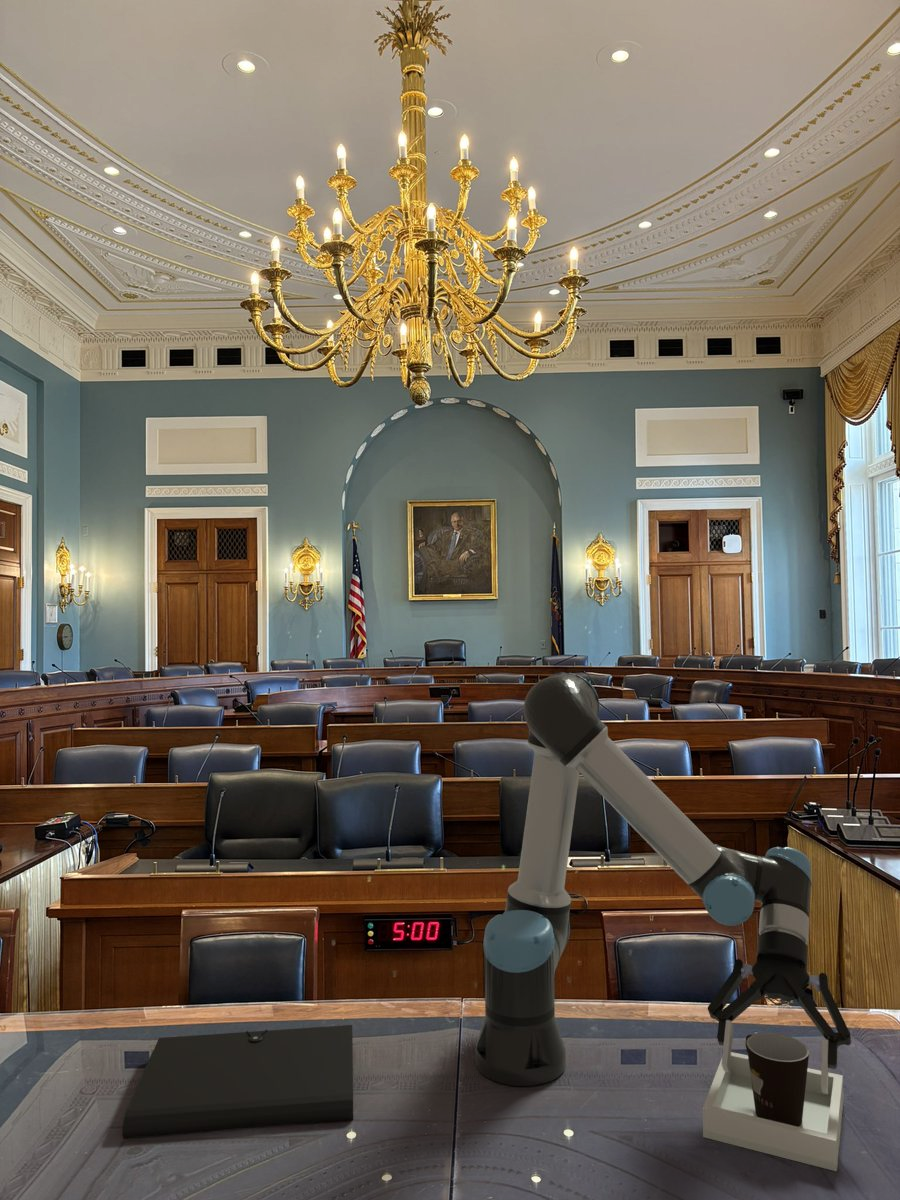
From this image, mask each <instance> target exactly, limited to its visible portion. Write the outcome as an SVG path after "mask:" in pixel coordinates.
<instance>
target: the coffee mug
mask: <svg viewBox="0 0 900 1200" xmlns="http://www.w3.org/2000/svg"><path fill="white" fill-rule="evenodd" d="M744 1043H745V1048H746V1049H745V1050H746V1052H747V1055H748V1059H749V1067H750V1074H751V1082H752V1089H753V1097H754V1104H755V1112H756V1115H757V1117H759V1118H763V1119H767V1120H772V1121H776V1122H780V1123H784V1124H788V1125H792V1126H796V1127H799V1126H800V1125H801V1123H802V1118H803V1108H804V1098H805V1088H806V1078H807V1069H808V1068H809V1058H810V1057H809V1056H810V1051H809V1048H808V1046H807V1045H806V1044H805V1043H803V1042H802V1041H800V1040H799V1039H797V1038H794V1037H792V1036H789V1035H786V1034H781V1033H776V1032H775V1033H774V1032H759V1033H756V1034H747V1035H746V1037H745V1041H744Z"/></svg>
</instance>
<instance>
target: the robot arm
mask: <svg viewBox="0 0 900 1200" xmlns="http://www.w3.org/2000/svg"><path fill="white" fill-rule="evenodd" d="M599 699H600V698H599V695H598V693H597V690H596V689H595V687H594V686H593V684H592V683H591V682H590V681H588V680H587V679H586V678H584V677H582V676H580V675H579V674H576V673H572V672H558V673H553V674H552V675H550V676H548V677H546V678H543V679H541V680H539V681H538V682H537V683H534V685H533V686H532V687H531V688H530V690H529V691H528V693H527V695H526V696H525V699H524V704H523V716H524V719H525V723H526V726H527V728H528V729H529V730H528V737H527V744H528V746H529V747H530V748H531V749H532V750H533V753H534V754H533V755H534V756H533V762H532V769H531V777H530V785H529V790H528V791H529V792H528V799H527V801H528V802H527V808H526V815H525V823H524V830H523V835H522V836H523V837H522V843H521V846H522V847H521V853H520V858H519V859H520V861H519V868H518V876H517V880H516V881H514V882H513V883H511V884H510V885H509V886H508V888H507V893H506V901H505V910H504V912H503V913H502V914H501V913H500V914H497V915H495V916H493V917H492V918H491V919H489V921H488V923H486V926H485V929H484V938H483V942H482V943H483V944H482V945H483V947H482V948H483V952H484V953H483V954H484V957H483V959H484V1004H485V1005H484V1006H485V1007H484V1008H485V1011H484V1013H485V1014H484V1019H483V1021H482V1025H481V1027H480V1030H479V1035H478V1038H477V1041H476V1044H475V1053H474V1054H475V1057H474V1058H475V1066H476V1068H477V1070H478V1071H479V1073H481V1074H482V1075H483V1076H484V1077H486V1078H487V1079H489V1080H491V1081H494V1082H497V1083H500V1084H504V1085H507V1086H514V1087H515V1086H516V1087H529V1086H530V1087H531V1086H538V1085H543V1084H547V1083H549V1082H552V1081H554V1080H556V1079H557V1078H559V1077H560V1076H561V1075H563V1073H564V1072H565V1070H566V1067H567V1052H566V1045H565V1043H564V1040H563V1036H562V1033H561V1032H560V1028H559V1025H558V1022H557V1019H556V1015H555V971H556V969H557V967H558V965H559V962H560V959H561V957H562V954H563V953H564V951H565V949H566V947H567V944H568V942H569V939H570V933H571V926H570V925H571V923H570V911H571V910H570V909H571V902H572V898H571V896H570V895H569V893H568V891H567V890H566V889H565V885H566V876H567V870H568V862H569V853H570V848H571V839H572V832H573V824H574V817H575V816H574V815H575V810H576V801H577V796H578V795H577V794H578V789H579V788H578V786H579V780H580V774H581V776H582V777H584V779H585V780H586V781H587V782H588V783H589V784H590V785H591V786H592V787H593V788H594V789H595V790H596V791H597V792H598V793H599V794H600V795H601V796H602V797H603V798H604V799H605V801H606V802H607V803H608V804H610V806H612V808H613V809H614V810H615V811H616V812H617V813H618V815H620V816H621V817H622V818H623V819H624V820H625V821H626V823H628V824H629V825H630V826H631V827H632V829H634V831H635V832H637V834H638V835H640V837H641V838H642V839H643V840H644V841H645V842H646V843H647V844H648V845H649V846H650V847H651V848H652V849H653V851H655V853H656V854H657V855H659V856H660V858H661V859H663V860H664V861H665V863H667V864H668V865H669V866H670V867H671V869H672V870H673V871H674V872H675V873H676V874H677V875H678V876H679V877H680V878H681V879H682V880H683V881H684V882H685V883H686V884H687V886H688V887H689V888H690V889H691V890H692V891H693V893H695V894H696V895H697V897H699V898H700V900H701V901H702V903H703V906H704V907H705V910H706V911H707V913H708V915H709V916H710V917H711V918H712V919H713V920H714V921H715V922H717V923H718V924H721V925H724V926H739V925H742V924H743V923H745V922H747V921H748V920H749V919H750V917H751V916H752V914H753V912H754V909H755V902H758V903H760V914H759V923H758V934H759V936H758V938H757V947H756V948H757V949H756V960H755V963H754V964H752V965H751V964H748V963H744V962H743V960H742V959H740V958H737V959H735V961H734V964H733V968H732V971H731V973H730V974H729V976H728V977H727V979H726V980H725V981H724V982H723V985H722V986H721V987H720V989H719V990H718V992H717V993H716V994H715V996H714V997H713V998H712V1000H711V1002H710V1003H709V1004H708V1006H707V1012H708V1014H709V1016H710V1018H711V1019H713V1020H715V1021H718V1025H717V1036H716V1038H717V1042H718V1044H719V1046H723V1048H722V1057H721V1059H722V1067H723V1070H724V1071H726V1072H729V1069H730V1059H731V1052H732V1049H733V1037H734V1025H733V1021H734V1020H736V1018H738V1017H739V1016H740V1015H741V1014H743V1013H744V1012H745V1011H746V1010H747V1009H748V1008H750V1006H752V1005H753V1004H754V1003H755V1002H756V1001H759V1000H760V999H762V998H763V997H764V996H766V997H768V998H769V999H771V1000H781V1001H784V1002H788V1003H791V1002H792V1001H796V1002H797V1003H798V1005H799V1006H800V1007H801V1008H802V1009H803V1010H804V1012H805V1013H806V1015H807V1016H808V1018H809V1019H810V1020H811V1021H812V1023H813V1025H815V1027H816V1028H817V1030H818V1031H819V1032H820V1034H821V1035H822V1036H823V1037H824V1038H822V1041H821V1070H820V1071H821V1089H822V1093H825V1094H828V1073H830V1072H829V1071H830V1070H829V1069H832V1070H836V1069H837V1067H838V1048H839V1047H840V1046H842V1045H845V1046H850V1045H851V1044H852V1037H851V1032H850V1030H849V1028H848V1027H847V1024H846V1022H845V1020H844V1017H843V1015H842V1013H841V1011H840V1010H839V1008H838V1005H837V1003H836V1001H835V999H834V997H833V995H832V992H831V991H830V987H829V980H828V976H827V974H826V973H824V972H820V973H819V974H818V975H813V974H812V975H811V974H809V973H808V953H809V951H808V950H809V947H808V943H809V930H810V909H811V908H810V907H811V906H810V905H811V891H812V885H813V881H812V873H811V872H812V869H811V861H810V860H809V857H807V855H806V854H804V853H803V852H801V851H800V850H798V849H796V848H794V847H789V846H785V847H780V846H776V847H772V848H770V849H768V850H767V851H766V853H765V856H763V855H756V854H752V853H747V852H743V851H740V850H736V849H731V848H727V847H723V846H721V845H719V844H715V843H714V842H712V841H711V840H710V839H709V838H708V837H707V836H706V834H704V833H703V832H702V831H701V830H700V829H699V828H698V827H697V825H695V823H694V822H693V821H692V820H690V819H689V818H688V816H687V815H686V814H685V813H683V812H682V811H681V809H680V808H679V807H678V806H677V805H676V804H675V803H674V802H673V801H672V800H671V799H670V798H669V797H668V796H667V795H666V794H665V793H664V792H663V791H662V790H661V788H659V787H658V786H657V785H656V784H655V782H653V781H652V780H651V779H650V778H649V777H648V775H646V774H645V772H643V771H642V770H641V768H640V767H638V766H637V765H636V764H635V762H633V760H632V759H630V757H628V755H627V754H626V753H624V751H623V750H622V749H621V748H620V747H619V746H618V745H617V744H616V743H615V742H614V741H613V740H612V739H611V738H610V736H609V731H608V729H609V728H608V726H607V725H606V724H605V723H604V722H603V721H601V719H600V718H599V715H600V714H599V713H600V711H601V710H600V708H601V704H600V700H599ZM751 974H752V975H753V976H752V977H754V979H755V980H754V981H753V982H751V984H750V985H749V987H748V988H747V989H746V990H744V992H742V993H741V994H740V995H738V996H737V997H736V998H735V999H734V1000H733V1001H732V1002H730V1003H729V1001H730V1000H731V998H732V997H733V995H734V993H735V992H736V991H737V990H738V988H739V987H740V985H741V984H742V981H743V979H746V978H748V976H749V975H751ZM810 985H812V986H813V987H814V990H815V991H816V992H820V994H821V999H822V1000H823V1003H824V1005H825V1008H826V1009H827V1011H828V1013H829V1016H830V1018H831V1020H832V1022H833V1024H834V1026H835V1029H836V1031H837V1032H835V1031H834V1029H833V1028H832V1027H831V1026H830V1024H829V1023H828V1022H827V1020H826V1019H825V1018H824V1017H823V1015H822V1014H821V1012H820V1011H819V1009H818V1008H817V1007H816V1006H815V1004H814V1003H813V1002H812V1001H811V999H810V997H809V996H808V995H807V993H806V991H805V990H806V989H807V988H809V986H810ZM728 1003H729V1004H728ZM727 1004H728V1005H727ZM726 1005H727V1006H726ZM725 1006H726V1007H725Z"/></svg>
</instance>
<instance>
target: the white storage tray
mask: <svg viewBox="0 0 900 1200" xmlns="http://www.w3.org/2000/svg"><path fill="white" fill-rule="evenodd" d="M843 1110H844V1076H843V1075H842V1074H838V1073H833V1072H829V1073H828V1094H825V1093H822V1089H821V1070H820V1069H813V1068H809V1067H808V1069H807V1078H806V1088H805V1098H804V1108H803V1118H802V1123H801V1125H800V1126H799V1127H796V1126H792V1125H788V1124H784V1123H780V1122H776V1121H772V1120H767V1119H763V1118H759V1117H757V1115H756V1112H755V1104H754V1097H753V1089H752V1082H751V1074H750V1067H749V1059H748V1054H742V1053H737V1052H733V1051H731V1059H730V1069H729V1072H726V1071H724V1070H723V1067H722V1058H721V1059H720V1062H719V1065H718V1067H717V1070H716V1072H715V1075H714V1078H713V1080H712V1083H711V1086H710V1087H709V1091H708V1093H707V1096H706V1099H705V1101H704V1104H703V1106H702V1137H703V1138H706V1139H709V1140H713V1141H717V1142H720V1143H725V1144H728V1145H732V1146H736V1147H740V1148H744V1149H748V1150H752V1151H756V1152H760V1153H764V1154H766V1155H767V1154H768V1155H772V1156H775V1157H780V1158H783V1159H787V1160H792V1161H795V1162H799V1163H803V1164H806V1165H810V1166H814V1167H818V1168H822V1169H826V1170H830V1171H833V1172H837V1171H838V1162H839V1151H840V1140H841V1132H842V1131H841V1130H842V1121H843Z"/></svg>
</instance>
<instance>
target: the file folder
mask: <svg viewBox="0 0 900 1200" xmlns="http://www.w3.org/2000/svg"><path fill="white" fill-rule="evenodd" d="M353 1038H354V1037H353V1024H348V1025H347V1024H346V1025H331V1026H330V1025H329V1026H317V1027H301V1028H286V1029H273V1030H272V1029H271V1030H270V1029H269V1030H268V1029H265V1030H258V1031H257V1030H255V1031H248V1030H246V1031H243V1032H227V1033H226V1032H225V1033H213V1034H197V1035H196V1034H195V1035H183V1036H168V1037H159V1038H158V1039H157V1042H156V1043H155V1044H156V1045H155V1046H154V1049H153V1050H152V1052H151V1054H150V1056H149V1059H148V1060H147V1063H146V1065H145V1067H144V1070H143V1073H142V1074H141V1077H140V1079H139V1081H138V1083H137V1085H136V1088H135V1090H134V1093H133V1094H132V1097H131V1099H130V1101H129V1104H128V1107H127V1109H126V1110H125V1113H124V1118H123V1122H122V1129H121V1130H122V1134H121V1135H122V1137H123V1139H127V1138H139V1137H140V1138H141V1137H152V1136H165V1135H178V1134H190V1133H201V1132H204V1133H205V1132H212V1131H213V1132H214V1131H215V1132H217V1131H227V1130H240V1129H241V1130H242V1129H252V1128H253V1129H254V1128H265V1127H266V1128H267V1127H276V1126H277V1127H278V1126H290V1125H301V1124H302V1125H304V1124H316V1123H325V1122H338V1121H339V1122H340V1121H352V1120H354V1063H353V1061H354V1060H353V1059H354V1056H353V1055H354V1054H353V1053H354V1052H353V1051H354V1050H353V1049H354V1048H353V1047H354V1045H353Z"/></svg>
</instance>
